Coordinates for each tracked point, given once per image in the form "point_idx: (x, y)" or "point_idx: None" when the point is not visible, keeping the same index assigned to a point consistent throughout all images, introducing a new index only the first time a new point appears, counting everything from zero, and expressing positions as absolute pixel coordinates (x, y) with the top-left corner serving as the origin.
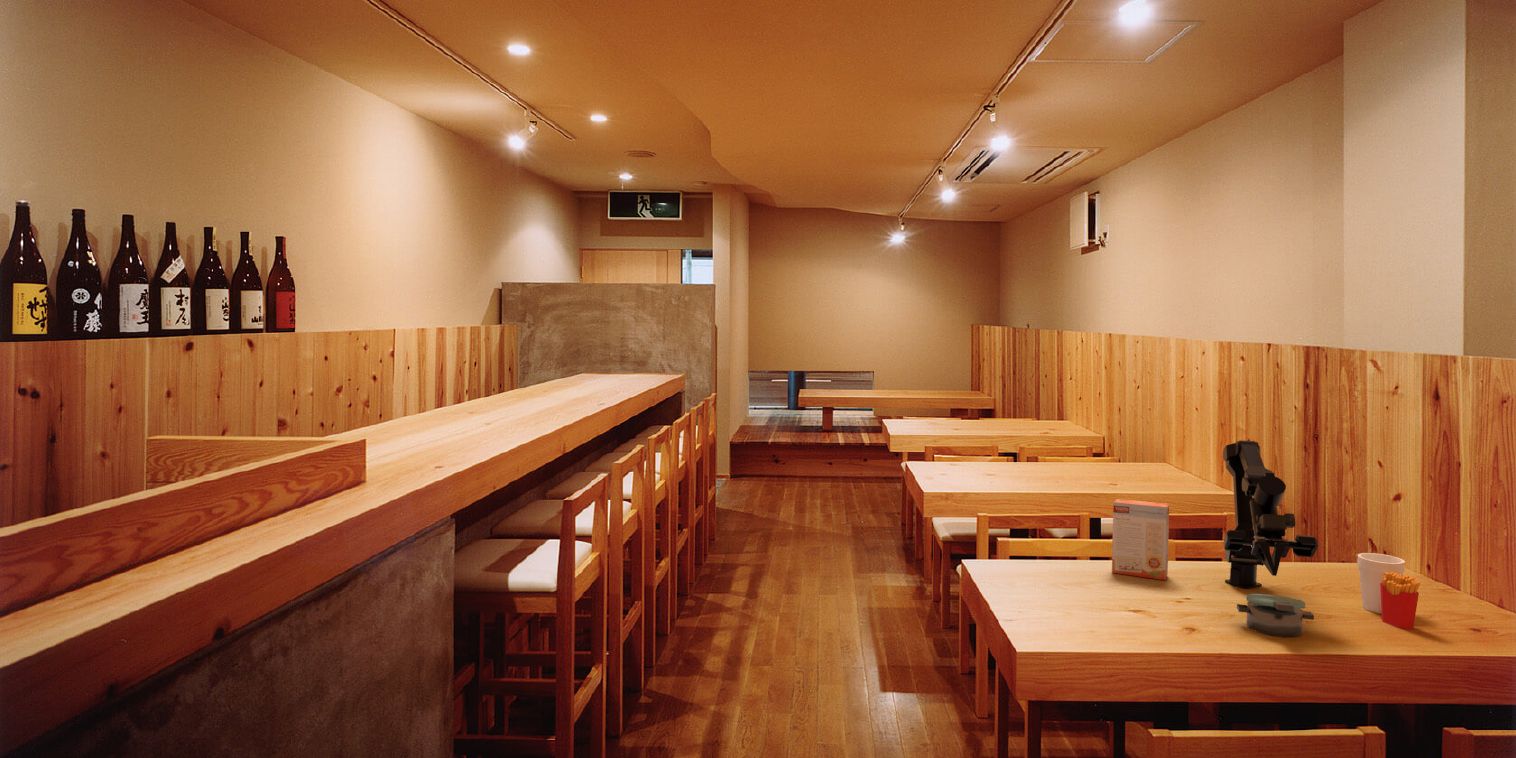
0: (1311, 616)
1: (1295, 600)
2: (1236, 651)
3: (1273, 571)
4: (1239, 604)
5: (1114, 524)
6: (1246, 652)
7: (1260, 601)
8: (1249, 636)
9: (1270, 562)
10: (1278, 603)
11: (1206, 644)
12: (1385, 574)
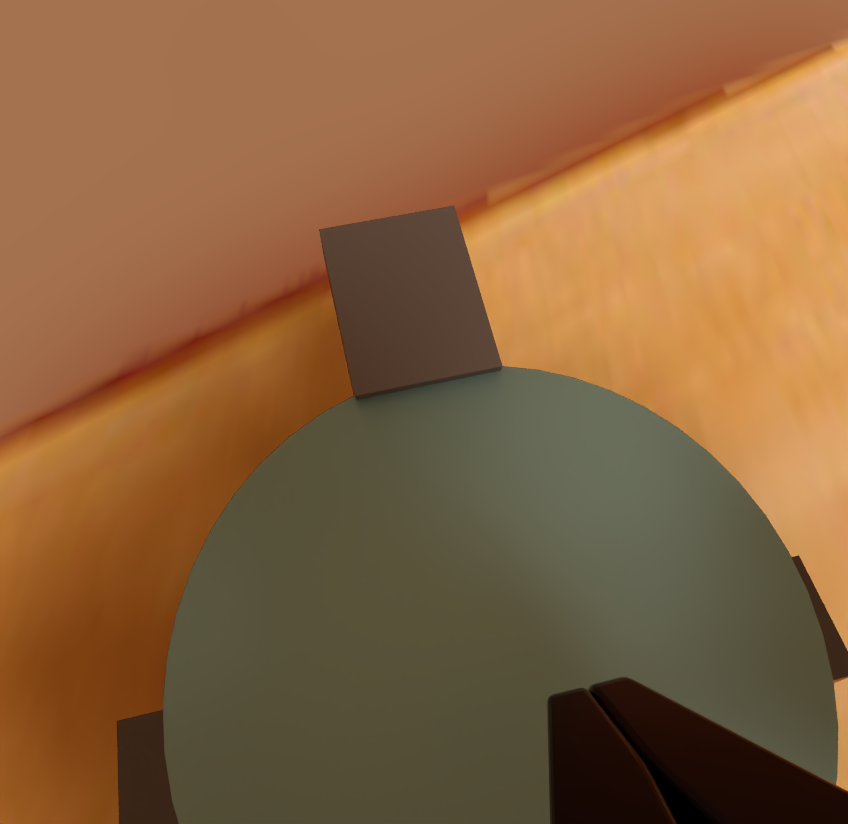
0: (146, 716)
1: (266, 765)
2: (621, 172)
3: (628, 697)
4: (832, 672)
5: None
6: (576, 183)
7: (624, 405)
8: None
9: (823, 821)
10: (452, 264)
11: (773, 186)
12: None
